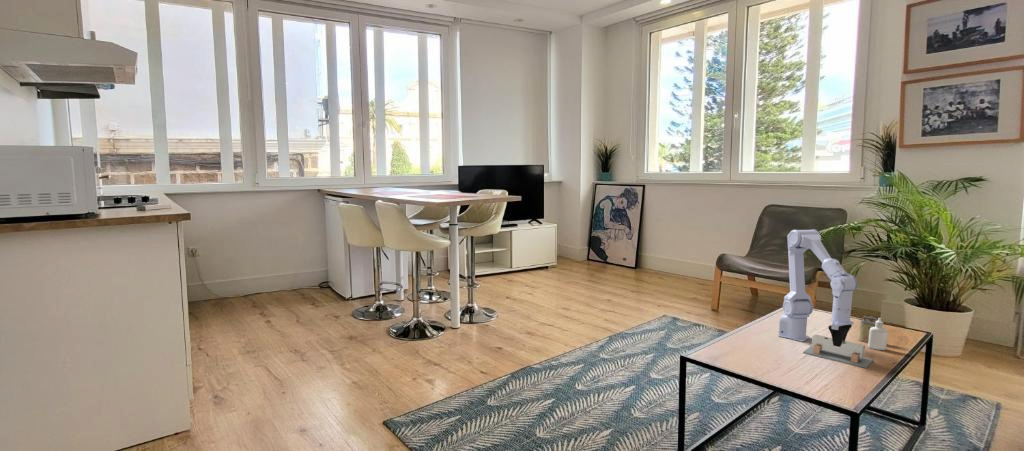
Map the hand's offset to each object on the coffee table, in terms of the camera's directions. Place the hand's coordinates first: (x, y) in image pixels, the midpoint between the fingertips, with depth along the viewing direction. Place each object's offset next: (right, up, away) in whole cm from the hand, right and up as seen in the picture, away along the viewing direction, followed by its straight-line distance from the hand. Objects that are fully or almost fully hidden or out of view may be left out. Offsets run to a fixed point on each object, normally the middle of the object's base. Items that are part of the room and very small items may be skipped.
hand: (838, 344), depth 193 cm
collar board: (0, -5, +1) cm, 5 cm away
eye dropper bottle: (+21, -4, +10) cm, 23 cm away
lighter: (+23, -3, +17) cm, 29 cm away
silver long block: (0, -3, +1) cm, 3 cm away
